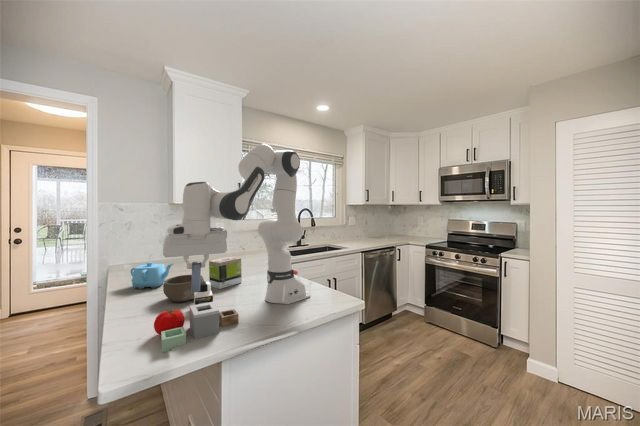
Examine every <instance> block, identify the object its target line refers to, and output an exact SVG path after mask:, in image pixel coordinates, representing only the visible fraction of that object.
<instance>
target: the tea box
mask: <svg viewBox="0 0 640 426" xmlns="http://www.w3.org/2000/svg"><path fill="white" fill-rule="evenodd" d="M208 270H209V273H208V274H209V277H208V278H209V279H208V280H209V281H208V282H210V283H211V286H212V287H211V288H215V289H219V290H220V289H224V288H227V287H231V286H234V285H237V284H238V285H239V284H241V283H242V258H240V257H234V256H228V257H223V258H217V259H213V260H208Z"/></svg>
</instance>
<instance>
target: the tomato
mask: <svg viewBox="0 0 640 426" xmlns="http://www.w3.org/2000/svg"><path fill="white" fill-rule="evenodd" d="M185 321H186V317H185V315H184V312H183V311H182V310H180V309H176V308H173V309H170V310H166V309H165V310H164V311H162V312H161V313H159V314H158V315H157V316H156V317H155V320H154V322H153V329H154V332H155V333H156V334H157V335H159V336H160V337H161V331H166V330H170V329H175V328H180V327H184V325H185Z"/></svg>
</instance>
